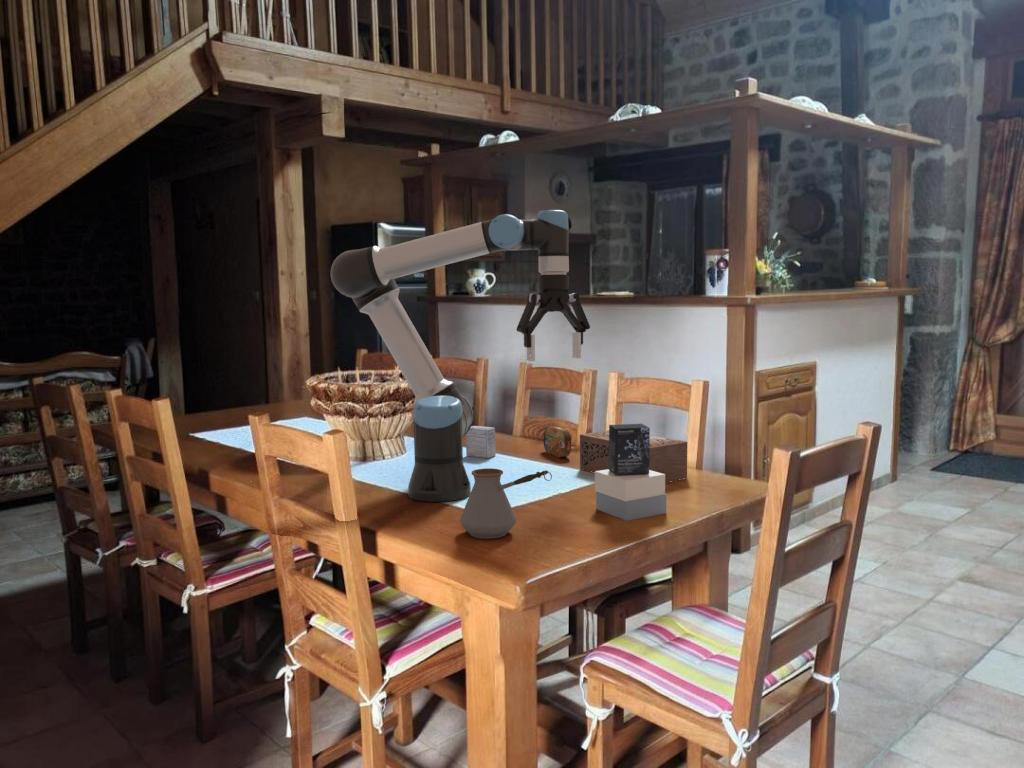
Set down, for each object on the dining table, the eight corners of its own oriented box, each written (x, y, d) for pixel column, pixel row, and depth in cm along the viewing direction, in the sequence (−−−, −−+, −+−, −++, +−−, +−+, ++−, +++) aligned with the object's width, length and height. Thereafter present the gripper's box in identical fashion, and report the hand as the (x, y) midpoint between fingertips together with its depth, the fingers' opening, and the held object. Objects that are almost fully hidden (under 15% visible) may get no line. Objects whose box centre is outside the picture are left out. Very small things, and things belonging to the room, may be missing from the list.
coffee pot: (448, 535, 170) (446, 462, 168) (484, 522, 179) (483, 453, 177) (532, 554, 157) (531, 476, 155) (567, 539, 166) (566, 465, 164)
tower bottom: (626, 522, 179) (626, 501, 179) (596, 510, 189) (596, 491, 188) (666, 514, 185) (666, 494, 184) (635, 503, 194) (635, 484, 194)
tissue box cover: (686, 479, 217) (687, 441, 216) (646, 488, 209) (646, 448, 207) (619, 463, 238) (619, 428, 237) (580, 470, 229) (579, 434, 228)
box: (615, 476, 182) (615, 428, 181) (608, 470, 188) (608, 424, 187) (650, 474, 184) (650, 426, 182) (641, 469, 189) (642, 422, 188)
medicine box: (496, 456, 249) (495, 427, 248) (487, 458, 245) (487, 429, 244) (474, 453, 253) (473, 425, 252) (465, 456, 249) (465, 427, 248)
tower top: (625, 501, 179) (625, 480, 178) (594, 490, 188) (594, 471, 188) (665, 494, 184) (665, 474, 184) (633, 484, 194) (633, 465, 193)
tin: (542, 451, 256) (542, 424, 255) (551, 450, 257) (551, 423, 256) (563, 460, 242) (563, 431, 241) (573, 459, 243) (573, 430, 242)
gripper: (586, 274, 217) (586, 355, 219) (502, 274, 205) (503, 360, 207) (603, 273, 210) (603, 357, 213) (517, 273, 198) (518, 363, 201)
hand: (554, 359), depth 210 cm, fingers open, 13 cm apart
